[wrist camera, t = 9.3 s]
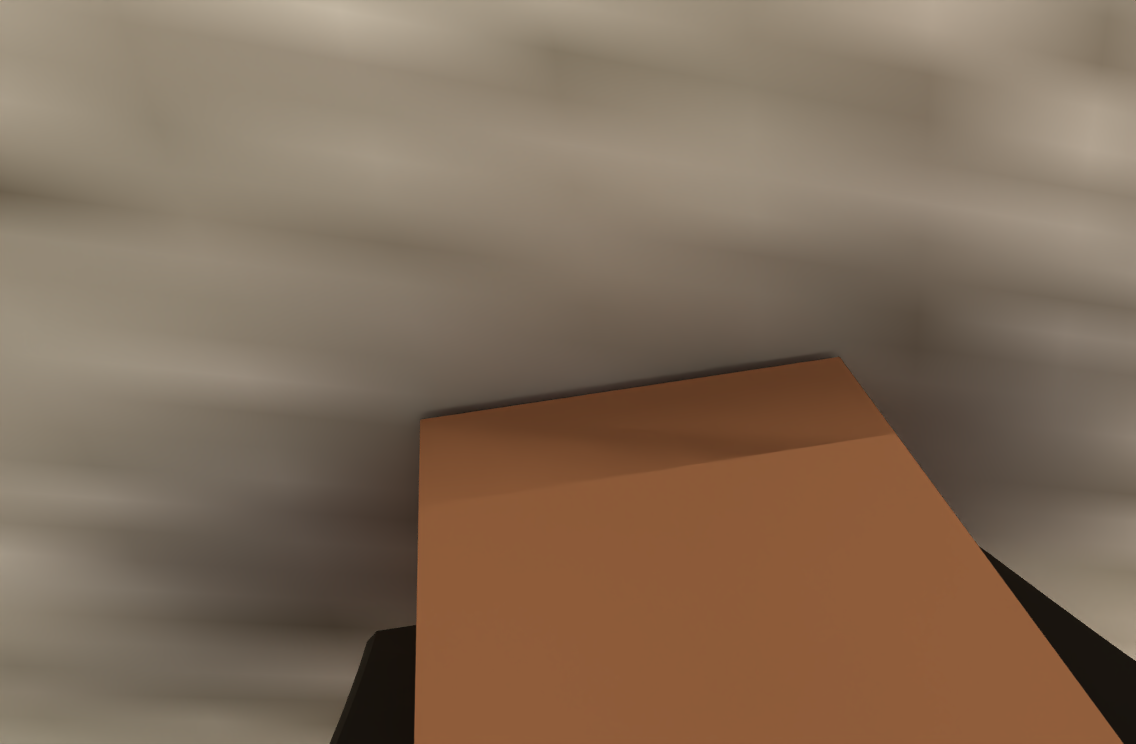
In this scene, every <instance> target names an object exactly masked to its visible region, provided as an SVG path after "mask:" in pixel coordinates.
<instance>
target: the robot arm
mask: <svg viewBox="0 0 1136 744" xmlns="http://www.w3.org/2000/svg"><path fill="white" fill-rule="evenodd" d="M979 548H980V549H981V550H982V552H983V553H984V554H985V556H986V557H987V559H988V560H989V561H990V563H991V564H992V565H993V567H994V568H995V569H996V571H997V572H998V574H999V575H1000V576H1001V578H1002V579H1003V580H1004V582H1005V583H1006V584H1007V586H1008V587H1009V588H1010V590H1011V591H1012V593H1013V594H1014V595H1015V597H1016V598H1017V599H1018V601H1019V602H1020V603H1021V605H1022V606H1023V608H1024V609H1025V610H1026V612H1027V613H1028V614H1029V616H1030V617H1031V618H1032V620H1033V621H1034V623H1035V624H1036V625H1037V627H1038V628H1039V629H1040V631H1041V632H1042V633H1043V635H1044V636H1045V638H1046V639H1047V640H1048V642H1049V643H1050V644H1051V646H1052V647H1053V648H1054V650H1055V651H1056V652H1057V654H1058V655H1059V657H1060V658H1061V659H1062V661H1063V662H1064V663H1065V665H1066V666H1067V667H1068V669H1069V670H1070V672H1071V673H1072V674H1073V676H1074V677H1075V678H1076V680H1077V681H1078V682H1079V684H1080V685H1081V687H1082V688H1083V689H1084V691H1085V692H1086V693H1087V695H1088V696H1089V697H1090V699H1091V700H1092V701H1093V703H1094V704H1095V706H1096V707H1097V708H1098V710H1099V711H1100V712H1101V714H1102V715H1103V716H1104V718H1105V719H1106V721H1107V722H1108V723H1109V725H1110V726H1111V727H1112V729H1113V730H1114V731H1115V733H1116V734H1117V736H1118V737H1119V738H1120V740H1121V741H1122V742H1123V744H1136V661H1135V660H1133V659H1132V658H1131V657H1129V656H1128V655H1126V654H1125V653H1123V652H1122V651H1121V650H1119V649H1118V648H1117V647H1115V646H1114V645H1112V644H1111V643H1110V642H1108V641H1107V640H1105V639H1104V638H1103V637H1101V636H1100V635H1098V634H1097V633H1096V632H1094V631H1093V630H1092V629H1090V628H1089V627H1087V626H1086V625H1085V624H1083V623H1082V622H1081V621H1079V620H1078V619H1077V618H1075V617H1074V616H1073V615H1071V614H1070V613H1068V612H1067V611H1066V610H1064V609H1063V608H1062V607H1060V606H1059V605H1058V604H1056V603H1055V602H1053V601H1052V600H1051V599H1049V598H1048V597H1047V596H1045V595H1044V594H1043V593H1041V592H1040V591H1039V590H1037V589H1036V588H1035V587H1033V586H1032V585H1031V584H1029V583H1028V582H1027V581H1025V580H1024V579H1023V578H1021V577H1020V576H1019V575H1017V574H1016V573H1015V572H1013V571H1012V570H1011V569H1009V568H1008V567H1007V566H1005V565H1004V564H1002V563H1001V562H1000V561H998V560H997V559H996V558H994V557H993V556H992V555H990V554H989V553H988V552H986V551H985V550H983V549H982V548H981V547H979ZM415 674H416V625H413V626H407V627H401V628H394V629H388V630H382V631H377V632H376V633H375V634H374V635H373V636H372V637H371V638H370V639H369V640H368V642H367V644H366V647H365V650H364V653H363V657H362V660H361V663H360V666H359V669H358V672H357V674H356V677H355V680H354V683H353V686H352V688H351V691H350V694H349V696H348V699H347V702H346V704H345V707H344V710H343V712H342V715H341V717H340V720H339V722H338V725H337V727H336V730H335V732H334V734H333V737H332V739H331V742H330V744H414V728H415Z"/></svg>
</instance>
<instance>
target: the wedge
mask: <svg viewBox="0 0 1136 744" xmlns="http://www.w3.org/2000/svg"><path fill="white" fill-rule="evenodd" d="M414 744H1123V742H1122V741H1121V740H1120V738H1119V737H1118V736H1117V734H1116V733H1115V731H1114V730H1113V729H1112V727H1111V726H1110V725H1109V723H1108V722H1107V721H1106V719H1105V718H1104V716H1103V715H1102V714H1101V712H1100V711H1099V710H1098V708H1097V707H1096V706H1095V704H1094V703H1093V701H1092V700H1091V699H1090V697H1089V696H1088V695H1087V693H1086V692H1085V691H1084V689H1083V688H1082V687H1081V685H1080V684H1079V682H1078V681H1077V680H1076V678H1075V677H1074V676H1073V674H1072V673H1071V672H1070V670H1069V669H1068V667H1067V666H1066V665H1065V663H1064V662H1063V661H1062V659H1061V658H1060V657H1059V655H1058V654H1057V652H1056V651H1055V650H1054V648H1053V647H1052V646H1051V644H1050V643H1049V642H1048V640H1047V639H1046V638H1045V636H1044V635H1043V633H1042V632H1041V631H1040V629H1039V628H1038V627H1037V625H1036V624H1035V623H1034V621H1033V620H1032V618H1031V617H1030V616H1029V614H1028V613H1027V612H1026V610H1025V609H1024V608H1023V606H1022V605H1021V603H1020V602H1019V601H1018V599H1017V598H1016V597H1015V595H1014V594H1013V593H1012V591H1011V590H1010V588H1009V587H1008V586H1007V584H1006V583H1005V582H1004V580H1003V579H1002V578H1001V576H1000V575H999V574H998V572H997V571H996V569H995V568H994V567H993V565H992V564H991V563H990V561H989V560H988V559H987V557H986V556H985V554H984V553H983V552H982V550H981V549H980V548H979V546H978V545H977V544H976V542H975V541H974V539H973V538H972V537H971V535H970V534H969V533H968V531H967V530H966V529H965V527H964V526H963V525H962V523H961V522H960V520H959V519H958V518H957V516H956V515H955V514H954V512H953V511H952V510H951V508H950V507H949V505H948V504H947V503H946V501H945V500H944V499H943V497H942V496H941V495H940V493H939V492H938V490H937V489H936V488H935V486H934V485H933V484H932V482H931V481H930V480H929V478H928V477H927V475H926V474H925V473H924V471H923V470H922V469H921V467H920V466H919V465H918V463H917V462H916V461H915V459H914V458H913V456H912V455H911V454H910V452H909V451H908V450H907V448H906V447H905V446H904V444H903V443H902V441H901V440H900V439H899V437H898V436H897V435H896V433H895V432H894V431H893V429H892V428H891V426H890V425H889V424H888V422H887V421H886V420H885V418H884V417H883V416H882V414H881V413H880V411H879V410H878V409H877V407H876V406H875V405H874V403H873V402H872V401H871V399H870V398H869V397H868V395H867V394H866V392H865V391H864V390H863V388H862V387H861V386H860V384H859V383H858V382H857V380H856V379H855V377H854V376H853V375H852V373H851V372H850V371H849V369H848V368H847V367H846V365H845V364H844V362H843V361H842V360H841V358H840V357H835V358H828V359H821V360H815V361H808V362H801V363H795V364H788V365H781V366H775V367H768V368H761V369H755V370H748V371H741V372H735V373H728V374H721V375H715V376H708V377H701V378H695V379H688V380H681V381H675V382H668V383H661V384H655V385H648V386H641V387H635V388H628V389H622V390H615V391H608V392H602V393H595V394H588V395H582V396H575V397H568V398H562V399H555V400H548V401H542V402H535V403H528V404H522V405H515V406H508V407H502V408H495V409H488V410H482V411H475V412H468V413H462V414H455V415H448V416H442V417H435V418H428V419H422V420H420V458H419V512H418V566H417V620H416V674H415V728H414Z"/></svg>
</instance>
